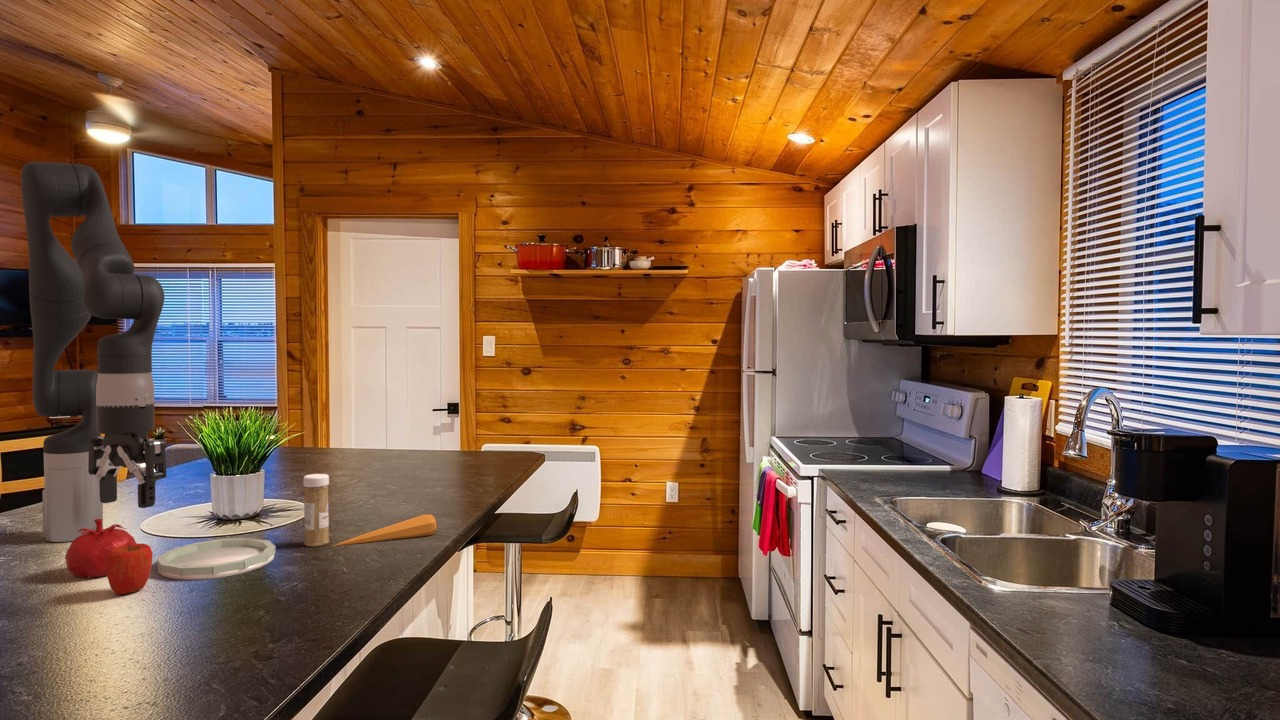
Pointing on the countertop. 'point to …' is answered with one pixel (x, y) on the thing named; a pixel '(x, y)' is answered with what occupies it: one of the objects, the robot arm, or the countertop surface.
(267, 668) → the countertop surface
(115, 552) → the apple
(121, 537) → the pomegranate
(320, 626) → the countertop surface
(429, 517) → the carrot
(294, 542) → the countertop surface
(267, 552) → the dish
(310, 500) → the spice jar
